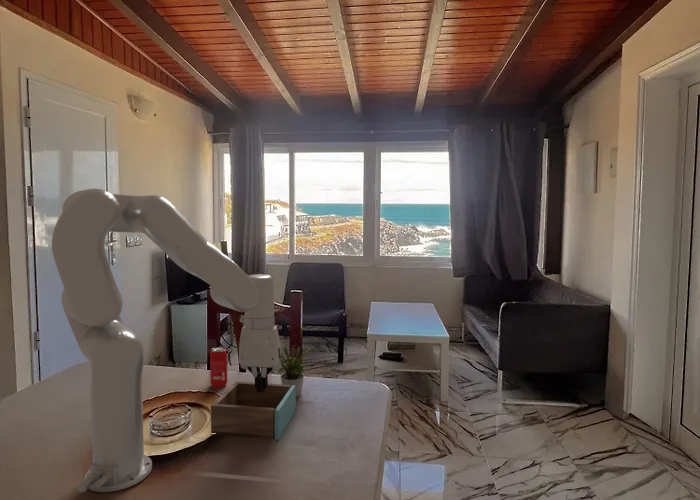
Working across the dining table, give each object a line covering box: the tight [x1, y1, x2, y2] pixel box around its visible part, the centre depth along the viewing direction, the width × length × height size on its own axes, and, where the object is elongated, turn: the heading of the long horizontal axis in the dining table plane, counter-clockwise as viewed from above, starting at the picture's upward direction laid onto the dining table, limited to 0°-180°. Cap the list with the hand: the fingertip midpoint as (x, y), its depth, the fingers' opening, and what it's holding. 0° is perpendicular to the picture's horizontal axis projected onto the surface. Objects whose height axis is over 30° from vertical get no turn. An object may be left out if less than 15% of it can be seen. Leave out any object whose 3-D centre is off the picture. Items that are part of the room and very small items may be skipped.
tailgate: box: [274, 385, 297, 441], centre depth 114 cm, size 16×1×7 cm, turn 172°
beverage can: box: [209, 346, 228, 389], centre depth 140 cm, size 5×5×12 cm
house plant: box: [277, 344, 314, 398], centre depth 133 cm, size 14×14×16 cm
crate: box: [210, 380, 291, 441], centre depth 115 cm, size 16×16×8 cm
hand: (261, 390), depth 115 cm, fingers closed
